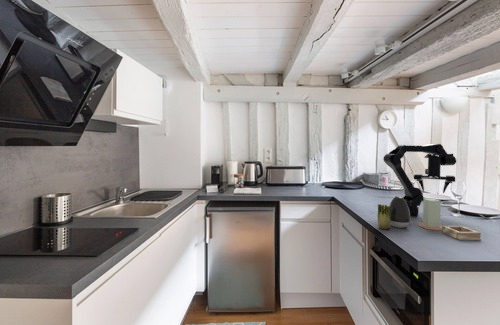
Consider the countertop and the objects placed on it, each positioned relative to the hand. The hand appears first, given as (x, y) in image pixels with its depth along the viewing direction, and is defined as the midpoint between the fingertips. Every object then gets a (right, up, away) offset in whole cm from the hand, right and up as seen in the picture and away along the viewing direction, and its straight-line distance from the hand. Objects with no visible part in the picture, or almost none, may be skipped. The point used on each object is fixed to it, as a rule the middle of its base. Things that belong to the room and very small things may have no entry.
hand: (433, 192), depth 135 cm
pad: (-17, -15, -20) cm, 30 cm away
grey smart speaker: (-32, -15, -18) cm, 40 cm away
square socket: (-13, -15, -32) cm, 37 cm away
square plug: (-17, -14, -20) cm, 30 cm away
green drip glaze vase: (-41, -15, -21) cm, 48 cm away
